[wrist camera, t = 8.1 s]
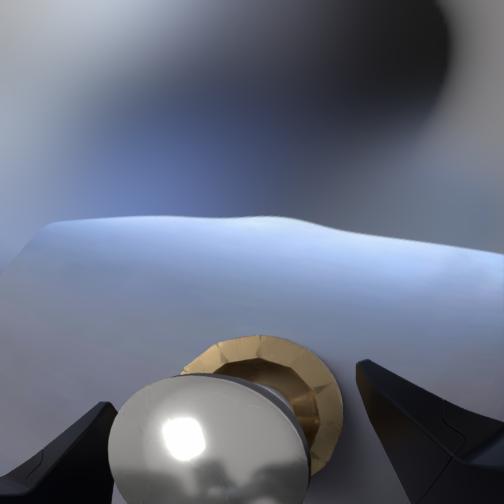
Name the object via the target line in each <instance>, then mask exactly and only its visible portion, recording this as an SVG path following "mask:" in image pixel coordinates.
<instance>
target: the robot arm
mask: <svg viewBox="0 0 504 504" xmlns="http://www.w3.org/2000/svg"><path fill="white" fill-rule="evenodd" d="M356 383H357V387H358V389H359V392H360V395H361V397H362V400H363V403H364V406H365V409H366V411H367V414H368V417H369V420H370V422H371V424H372V426H373V428H374V430H375V432H376V434H377V436H378V438H379V440H380V441H381V443H382V445H383V447H384V449H385V451H386V453H387V455H388V457H389V459H390V461H391V463H392V465H393V468H394V470H395V472H396V474H397V476H398V478H399V480H400V482H401V484H402V486H403V488H404V490H405V492H406V494H407V496H408V498H409V501H410V503H411V504H504V422H502V421H498V420H495V419H492V418H489V417H486V416H483V415H480V414H477V413H474V412H471V411H469V410H466V409H464V408H461V407H459V406H457V405H455V404H453V403H451V402H449V401H447V400H445V399H444V400H443V399H442V398H440V397H438V396H437V395H435V394H433V393H431V392H429V391H427V390H425V389H423V388H421V387H419V386H417V385H415V384H413V383H411V382H410V381H408V380H406V379H404V378H402V377H400V376H398V375H396V374H395V373H393V372H391V371H389V370H387V369H385V368H384V367H382V366H380V365H378V364H376V363H374V362H373V361H371V360H369V359H365V360H362V361H359V362H357V363H356ZM117 414H118V412H117V411H116V409H115V408H114V406H113V405H112V404H111V403H110V402H99V403H98V404H97V405H96V406H94V407H93V408H92V409H91V410H90V411H88V412H87V413H86V414H85V415H84V416H82V417H81V418H80V419H79V420H78V421H76V422H75V423H74V424H73V425H71V426H70V427H69V428H68V429H67V430H65V431H64V432H63V433H62V434H60V435H59V436H58V437H57V438H56V439H54V440H53V441H52V442H51V443H49V444H48V445H47V446H46V447H44V449H42V450H41V451H39V452H38V453H37V454H36V455H34V456H33V457H32V458H30V459H29V460H27V461H26V462H25V463H23V464H22V465H20V466H18V467H17V468H15V469H14V470H12V471H11V472H9V473H8V474H6V475H4V476H2V477H0V504H111V502H112V494H113V487H114V479H113V476H112V472H111V469H110V464H109V457H108V443H109V436H110V431H111V427H112V425H113V422H114V420H115V418H116V416H117Z"/></svg>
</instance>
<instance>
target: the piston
mask: <svg viewBox="0 0 504 504" xmlns="http://www.w3.org/2000/svg"><path fill="white" fill-rule="evenodd" d="M108 457H109V464H110V469H111V472H112V476H113V479H114V481H115V483H116V486H117V488H118V490H119V492H120V493H121V495H122V496H123V498H124V500H125V501H126V502H127V504H302V503H303V501H304V498H305V495H306V492H307V489H308V487H309V483H310V478H311V456H310V450H309V447H308V444H307V441H306V438H305V435H304V432H303V430H302V428H301V425H300V423H299V421H298V420H297V418H296V417H295V413H294V409H293V406H292V404H291V402H290V400H289V399H288V397H287V396H286V395H285V394H284V393H283V392H282V391H280V390H279V389H277V388H275V387H273V386H270V385H267V384H260V383H252V382H250V381H247V380H244V379H240V378H236V377H231V376H226V375H220V374H214V373H189V374H183V375H178V376H174V377H171V378H167V379H164V380H161V381H158V382H155V383H152V384H150V385H148V386H146V387H144V388H143V389H141V390H140V391H138V392H137V393H135V394H134V395H133V396H132V397H131V398H130V399H129V400H128V401H127V402H126V403H125V404H124V405H123V407H122V408H121V409H120V411H119V412H118V414H117V416H116V418H115V420H114V422H113V425H112V427H111V431H110V436H109V443H108Z"/></svg>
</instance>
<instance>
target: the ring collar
mask: <svg viewBox="0 0 504 504" xmlns="http://www.w3.org/2000/svg"><path fill="white" fill-rule="evenodd" d="M184 369H185V371H182V372H181V375H183V374H189V373H214V374H220V375H226V376H231V377H236V378H240V379H244V380H247V381H250V382H252V383H260V384H267V385H270V386H273V387H275V388H277V389H279V390H280V391H282V392H283V393H284V394H285V395H286V396H287V397H288V399H289V400H290V402H291V404H292V406H293V409H294V413H295V417H296V418H297V420H298V421H299V423H300V425H301V428H302V430H303V432H304V435H305V438H306V441H307V444H308V447H309V450H310V456H311V476H312V475H314V474H315V473H316V472H318V471H319V470H320V469H322V468H323V467H324V466H325V465H327V464H326V462H329V460H330V457H331V455H332V453H333V450H334V448H335V445H336V443H337V440H338V438H339V435H340V433H341V430H342V428H343V425H344V424H342V422H344V419H343V403H342V396H341V393H340V390H339V387H338V384H337V382H336V380H335V378H334V376H333V375H332V373H331V371H330V370H329V369H328V367H327V366H326V365H325V364H324V363H323V361H322V360H320V359H319V358H318V357H317V356H316V355H315V354H314V353H312V352H311V351H309V350H308V349H306V348H305V347H303V346H301V345H299V344H297V343H295V342H292V341H290V340H287V339H283V338H279V337H274V336H266V335H253V336H245V337H240V338H236V339H232V340H229V341H225V342H219V343H218V345H216V344H214V345H213V346H212V347H211V348H209V349H208V350H207V351H206V352H204V353H203V354H202V355H200V356H199V357H198V358H197V359H195V360H194V361H193V362H191V363H190V364H189V365H188V366H186V367H185V368H184Z"/></svg>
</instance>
